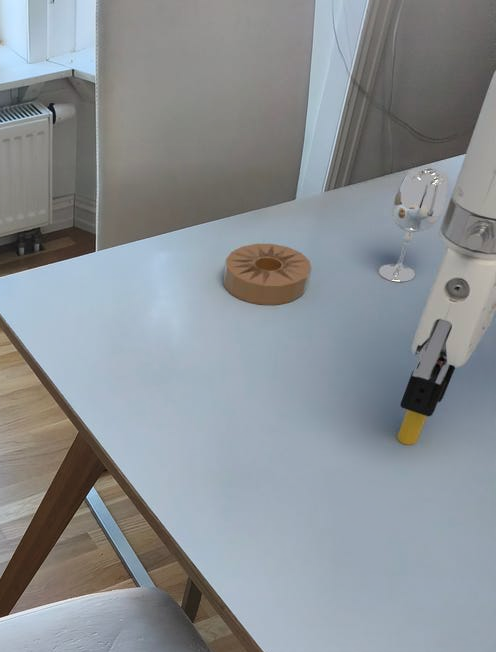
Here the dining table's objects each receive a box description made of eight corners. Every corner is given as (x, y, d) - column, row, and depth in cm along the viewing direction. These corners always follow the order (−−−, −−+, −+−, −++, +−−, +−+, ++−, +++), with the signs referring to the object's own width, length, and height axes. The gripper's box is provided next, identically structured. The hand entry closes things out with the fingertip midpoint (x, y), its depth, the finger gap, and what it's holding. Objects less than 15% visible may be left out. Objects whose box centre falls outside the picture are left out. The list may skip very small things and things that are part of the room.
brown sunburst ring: (301, 263, 115) (305, 243, 113) (310, 305, 109) (315, 286, 107) (221, 262, 116) (223, 243, 114) (225, 304, 110) (229, 284, 108)
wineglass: (418, 287, 111) (452, 189, 101) (371, 280, 112) (400, 183, 103) (421, 265, 114) (454, 168, 105) (375, 259, 116) (404, 163, 106)
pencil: (415, 433, 93) (448, 349, 85) (418, 445, 92) (452, 361, 84) (395, 432, 93) (426, 349, 85) (399, 444, 92) (430, 360, 84)
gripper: (509, 275, 69) (431, 459, 83) (562, 195, 77) (482, 376, 91) (414, 250, 72) (355, 432, 86) (475, 176, 80) (411, 354, 94)
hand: (421, 402), depth 89 cm, fingers closed on pencil, 2 cm apart
